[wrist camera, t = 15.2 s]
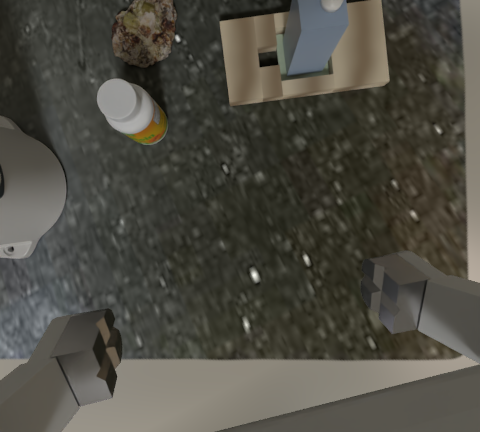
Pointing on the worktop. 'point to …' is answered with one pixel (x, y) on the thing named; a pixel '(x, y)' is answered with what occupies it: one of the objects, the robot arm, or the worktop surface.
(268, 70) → the board
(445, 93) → the worktop surface
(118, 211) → the worktop surface
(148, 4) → the mineral rock
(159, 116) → the supplement bottle
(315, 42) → the block
